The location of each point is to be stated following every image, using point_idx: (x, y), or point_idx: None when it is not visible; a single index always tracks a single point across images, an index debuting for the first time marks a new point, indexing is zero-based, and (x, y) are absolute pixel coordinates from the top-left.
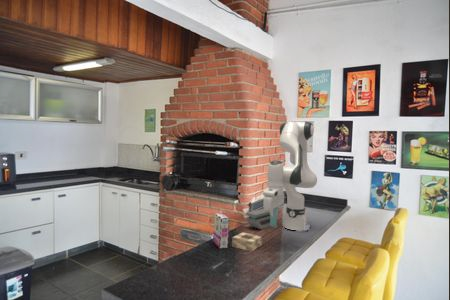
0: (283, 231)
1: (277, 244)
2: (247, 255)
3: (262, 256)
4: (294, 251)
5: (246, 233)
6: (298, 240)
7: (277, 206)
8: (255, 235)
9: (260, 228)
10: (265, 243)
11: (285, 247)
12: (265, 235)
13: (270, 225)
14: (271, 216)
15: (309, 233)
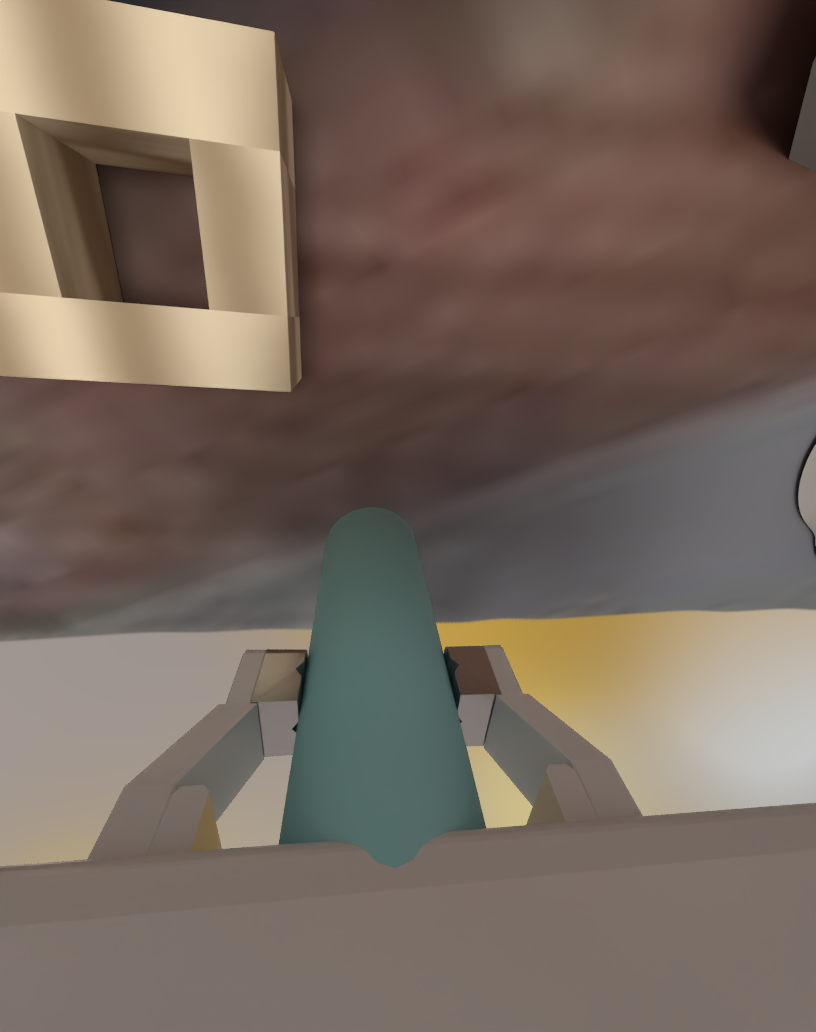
0: (783, 402)
1: (420, 482)
2: None
3: (73, 489)
4: None
5: (257, 130)
6: (590, 569)
7: None
8: (273, 302)
9: (795, 144)
10: (380, 387)
11: None
12: (608, 291)
13: (334, 528)
14: (313, 635)
15: (775, 576)
